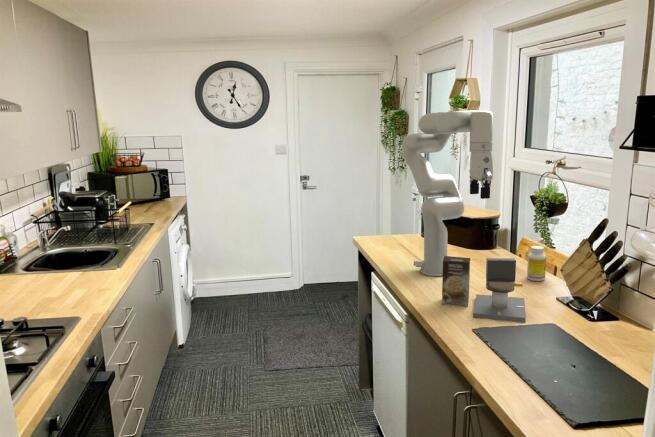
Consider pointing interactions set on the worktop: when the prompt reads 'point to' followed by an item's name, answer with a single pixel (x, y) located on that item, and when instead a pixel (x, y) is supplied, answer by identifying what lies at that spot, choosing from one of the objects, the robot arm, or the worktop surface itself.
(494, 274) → the rotary knob
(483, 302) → the post base
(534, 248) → the supplement bottle
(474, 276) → the worktop surface
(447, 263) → the coffee box
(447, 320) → the worktop surface
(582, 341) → the worktop surface
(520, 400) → the worktop surface
